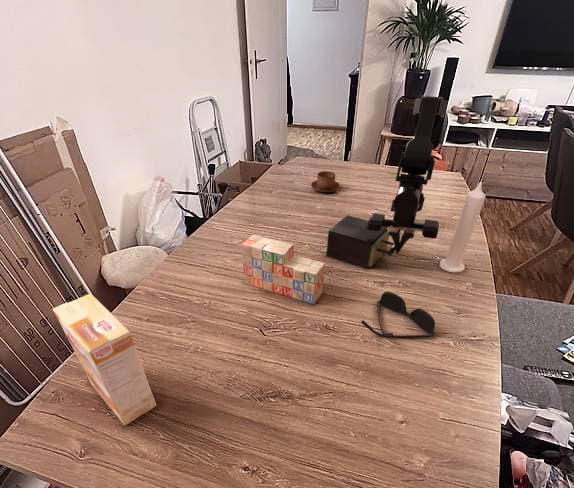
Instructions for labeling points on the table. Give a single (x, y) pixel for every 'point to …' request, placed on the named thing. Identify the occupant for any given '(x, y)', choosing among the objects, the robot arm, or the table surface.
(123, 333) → the coffeecake box
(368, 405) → the table surface
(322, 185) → the cup and saucer
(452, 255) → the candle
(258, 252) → the stack of blocks
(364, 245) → the cabinet
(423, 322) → the sunglasses
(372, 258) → the drawer
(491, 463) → the table surface
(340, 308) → the table surface
